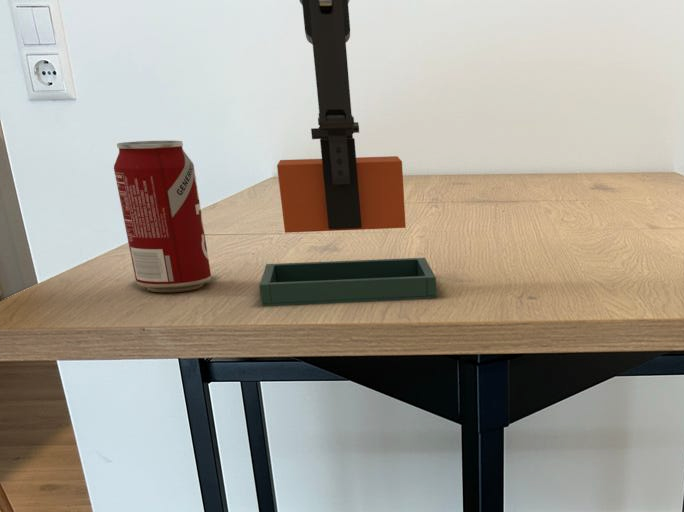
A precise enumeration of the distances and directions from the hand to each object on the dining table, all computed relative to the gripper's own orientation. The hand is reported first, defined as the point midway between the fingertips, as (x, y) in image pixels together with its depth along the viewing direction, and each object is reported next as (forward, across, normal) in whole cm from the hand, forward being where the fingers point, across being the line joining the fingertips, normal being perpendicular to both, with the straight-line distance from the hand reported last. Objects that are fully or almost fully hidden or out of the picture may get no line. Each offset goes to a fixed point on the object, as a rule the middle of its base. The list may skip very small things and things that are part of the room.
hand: (344, 222), depth 80 cm
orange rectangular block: (0, 0, 0) cm, 0 cm away
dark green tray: (+6, 0, 0) cm, 6 cm away
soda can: (+6, -7, -16) cm, 19 cm away
